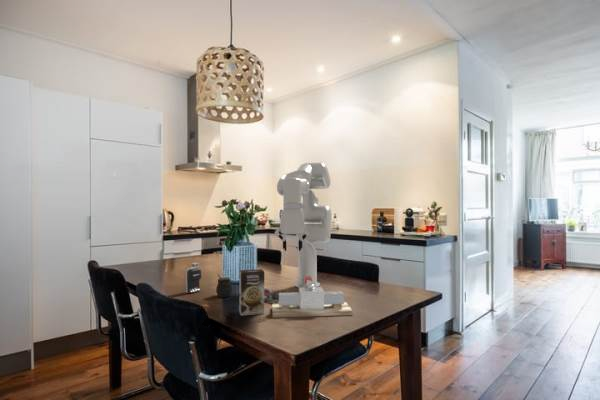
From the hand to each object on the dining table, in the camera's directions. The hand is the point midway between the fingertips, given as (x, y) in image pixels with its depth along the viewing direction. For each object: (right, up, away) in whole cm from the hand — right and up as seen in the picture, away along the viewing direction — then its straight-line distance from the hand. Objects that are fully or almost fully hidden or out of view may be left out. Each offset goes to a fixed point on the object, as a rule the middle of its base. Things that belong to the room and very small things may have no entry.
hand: (292, 250), depth 147 cm
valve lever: (+7, -13, -4) cm, 16 cm away
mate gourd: (-32, -23, +13) cm, 41 cm away
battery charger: (-47, -23, +20) cm, 56 cm away
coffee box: (-16, -23, -12) cm, 30 cm away
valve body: (+7, -21, -11) cm, 25 cm away
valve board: (+7, -22, -11) cm, 26 cm away
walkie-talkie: (-11, -23, +8) cm, 27 cm away
